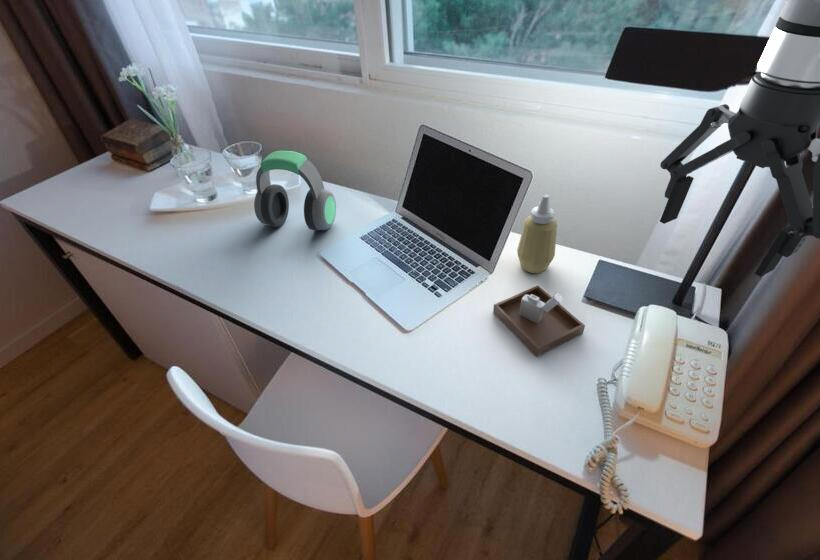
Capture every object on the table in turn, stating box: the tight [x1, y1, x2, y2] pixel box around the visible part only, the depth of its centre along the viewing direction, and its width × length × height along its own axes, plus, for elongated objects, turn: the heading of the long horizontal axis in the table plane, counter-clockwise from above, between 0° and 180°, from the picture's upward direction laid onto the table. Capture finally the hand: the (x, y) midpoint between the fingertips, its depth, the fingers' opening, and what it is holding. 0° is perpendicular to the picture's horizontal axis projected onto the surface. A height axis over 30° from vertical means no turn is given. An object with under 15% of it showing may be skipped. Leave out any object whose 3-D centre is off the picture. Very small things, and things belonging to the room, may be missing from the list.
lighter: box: [519, 292, 563, 323], centre depth 82 cm, size 7×2×8 cm, turn 49°
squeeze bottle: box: [516, 194, 558, 274], centre depth 92 cm, size 8×8×18 cm
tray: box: [492, 284, 586, 358], centre depth 84 cm, size 13×11×2 cm
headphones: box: [253, 150, 337, 232], centre depth 109 cm, size 19×11×20 cm, turn 77°
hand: (712, 243), depth 58 cm, fingers open, 13 cm apart
